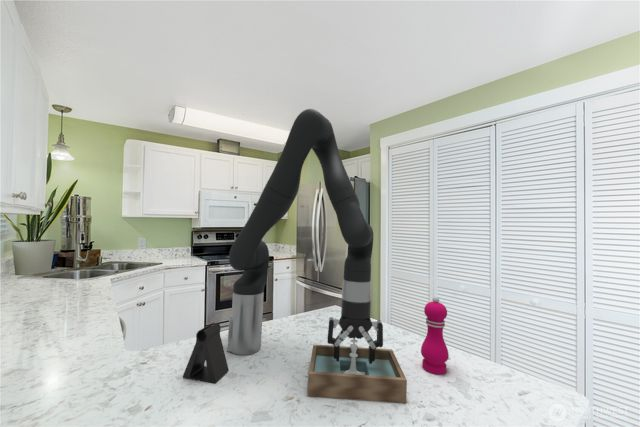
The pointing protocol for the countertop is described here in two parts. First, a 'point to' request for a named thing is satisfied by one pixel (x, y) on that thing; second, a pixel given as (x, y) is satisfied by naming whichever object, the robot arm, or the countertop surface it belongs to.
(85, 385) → the countertop surface
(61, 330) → the countertop surface
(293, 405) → the countertop surface
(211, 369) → the phone stand
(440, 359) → the pepper mill
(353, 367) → the chess piece
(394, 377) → the box
